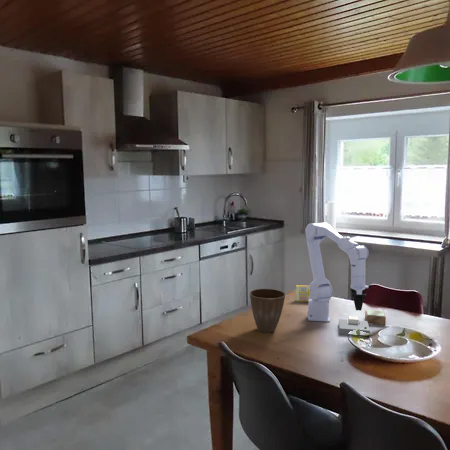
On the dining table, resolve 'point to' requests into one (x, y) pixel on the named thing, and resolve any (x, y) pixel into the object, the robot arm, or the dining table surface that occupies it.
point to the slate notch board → (352, 326)
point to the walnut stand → (375, 317)
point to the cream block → (353, 320)
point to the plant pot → (267, 308)
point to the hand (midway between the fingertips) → (357, 307)
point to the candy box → (302, 293)
